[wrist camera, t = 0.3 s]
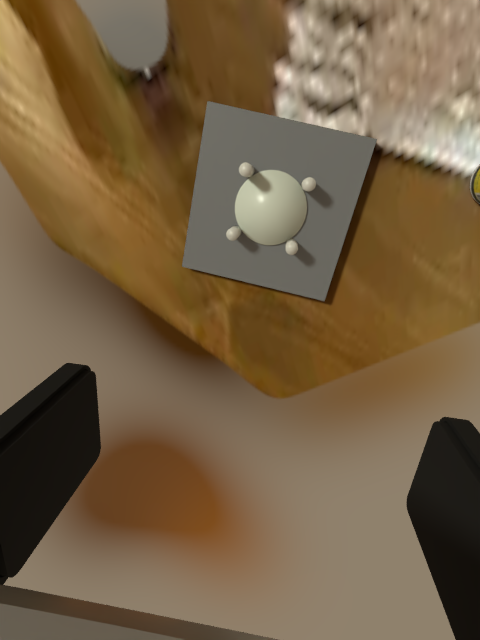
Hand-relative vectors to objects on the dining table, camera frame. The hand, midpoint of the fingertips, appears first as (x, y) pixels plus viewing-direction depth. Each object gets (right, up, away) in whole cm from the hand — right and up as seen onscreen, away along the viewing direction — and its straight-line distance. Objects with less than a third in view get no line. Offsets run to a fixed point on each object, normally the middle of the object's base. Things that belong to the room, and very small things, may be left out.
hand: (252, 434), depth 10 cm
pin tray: (+3, +15, +27) cm, 31 cm away
